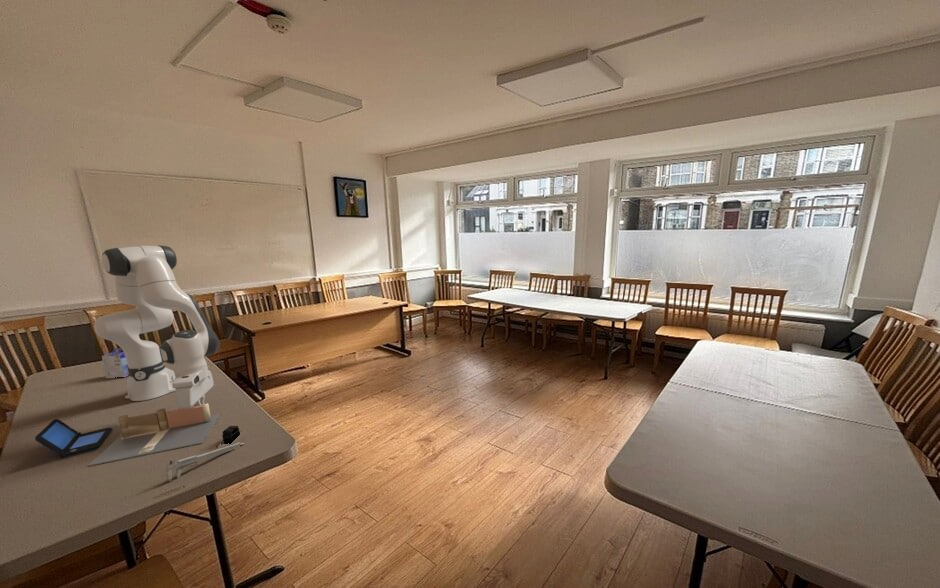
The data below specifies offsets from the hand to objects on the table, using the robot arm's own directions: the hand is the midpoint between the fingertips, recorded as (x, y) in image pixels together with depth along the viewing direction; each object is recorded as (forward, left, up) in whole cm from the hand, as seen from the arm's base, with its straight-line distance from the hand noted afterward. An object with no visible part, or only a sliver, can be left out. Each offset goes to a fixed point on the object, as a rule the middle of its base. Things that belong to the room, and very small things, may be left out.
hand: (200, 408), depth 135 cm
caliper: (+33, +12, -5) cm, 35 cm away
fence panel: (+4, -2, -3) cm, 6 cm away
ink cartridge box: (-72, -57, -5) cm, 92 cm away
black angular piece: (+22, +15, -5) cm, 27 cm away
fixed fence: (+4, -15, -4) cm, 16 cm away
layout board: (+10, -9, -4) cm, 14 cm away
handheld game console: (+4, -34, -5) cm, 35 cm away
